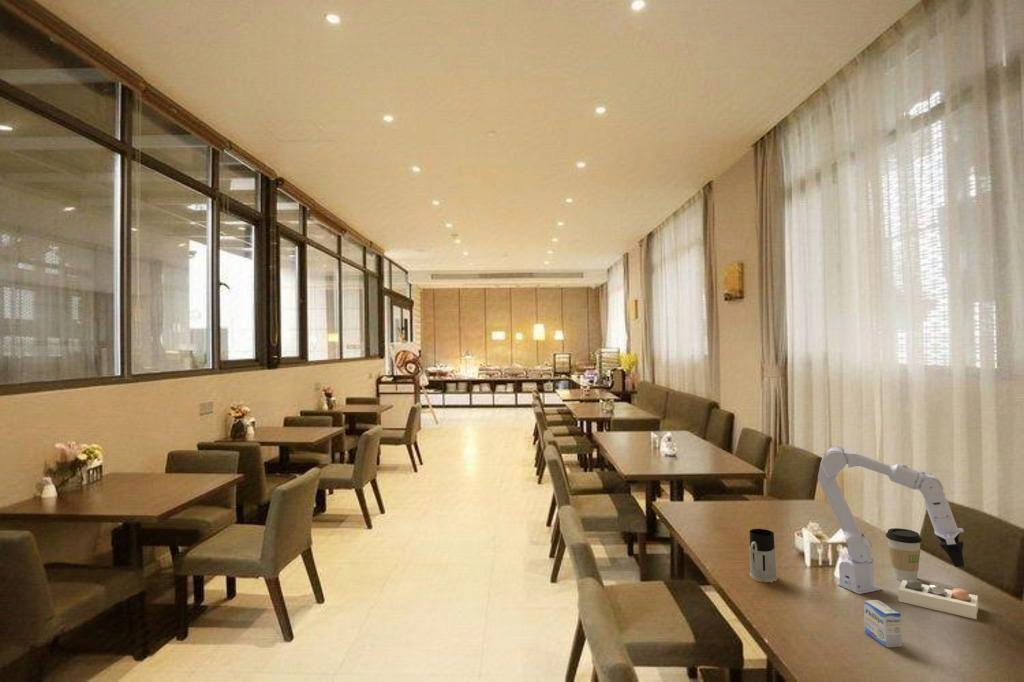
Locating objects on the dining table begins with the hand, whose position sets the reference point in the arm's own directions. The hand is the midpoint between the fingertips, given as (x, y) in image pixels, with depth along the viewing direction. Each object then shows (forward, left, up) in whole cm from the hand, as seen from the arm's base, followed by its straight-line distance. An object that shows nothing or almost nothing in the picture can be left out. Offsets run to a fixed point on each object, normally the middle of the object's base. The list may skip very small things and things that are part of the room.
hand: (957, 562), depth 165 cm
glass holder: (-41, +35, -13) cm, 55 cm away
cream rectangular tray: (-6, +2, -12) cm, 14 cm away
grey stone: (-9, +7, -10) cm, 15 cm away
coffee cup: (+3, +19, -13) cm, 23 cm away
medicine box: (-39, -7, -13) cm, 41 cm away
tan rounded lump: (-3, -3, -10) cm, 11 cm away
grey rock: (-6, +2, -10) cm, 12 cm away
